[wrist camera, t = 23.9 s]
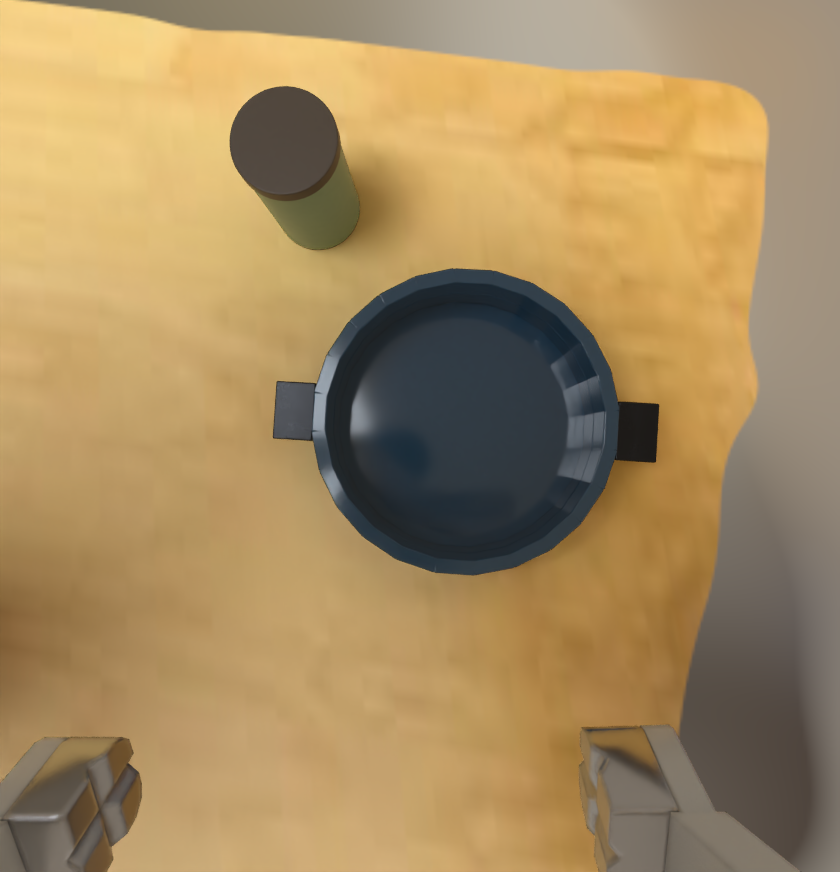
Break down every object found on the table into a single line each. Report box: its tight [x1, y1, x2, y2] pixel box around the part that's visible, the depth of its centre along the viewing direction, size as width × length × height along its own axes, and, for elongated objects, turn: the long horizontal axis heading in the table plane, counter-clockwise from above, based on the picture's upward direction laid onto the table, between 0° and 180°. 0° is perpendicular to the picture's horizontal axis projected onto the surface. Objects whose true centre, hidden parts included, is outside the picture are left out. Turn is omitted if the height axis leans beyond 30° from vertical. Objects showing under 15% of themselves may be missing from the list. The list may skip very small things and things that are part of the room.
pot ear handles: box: [273, 381, 659, 463], centre depth 31 cm, size 21×3×1 cm, turn 86°
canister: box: [230, 86, 360, 250], centre depth 31 cm, size 5×5×8 cm
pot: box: [312, 268, 619, 575], centre depth 32 cm, size 17×17×4 cm
